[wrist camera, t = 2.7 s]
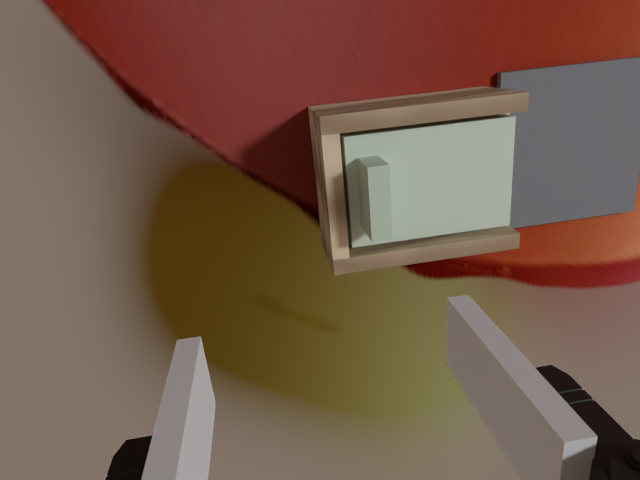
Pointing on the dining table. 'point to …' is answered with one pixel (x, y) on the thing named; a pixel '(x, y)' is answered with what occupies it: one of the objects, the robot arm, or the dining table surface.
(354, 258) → the oak box
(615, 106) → the rubber mat
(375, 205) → the lid plate
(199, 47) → the dining table surface
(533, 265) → the dining table surface
